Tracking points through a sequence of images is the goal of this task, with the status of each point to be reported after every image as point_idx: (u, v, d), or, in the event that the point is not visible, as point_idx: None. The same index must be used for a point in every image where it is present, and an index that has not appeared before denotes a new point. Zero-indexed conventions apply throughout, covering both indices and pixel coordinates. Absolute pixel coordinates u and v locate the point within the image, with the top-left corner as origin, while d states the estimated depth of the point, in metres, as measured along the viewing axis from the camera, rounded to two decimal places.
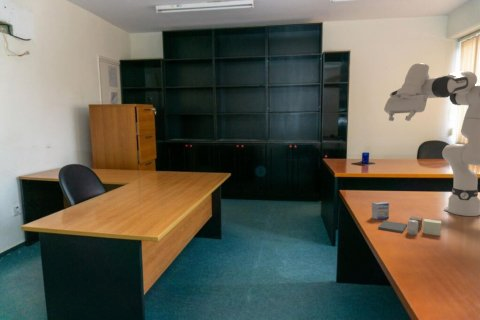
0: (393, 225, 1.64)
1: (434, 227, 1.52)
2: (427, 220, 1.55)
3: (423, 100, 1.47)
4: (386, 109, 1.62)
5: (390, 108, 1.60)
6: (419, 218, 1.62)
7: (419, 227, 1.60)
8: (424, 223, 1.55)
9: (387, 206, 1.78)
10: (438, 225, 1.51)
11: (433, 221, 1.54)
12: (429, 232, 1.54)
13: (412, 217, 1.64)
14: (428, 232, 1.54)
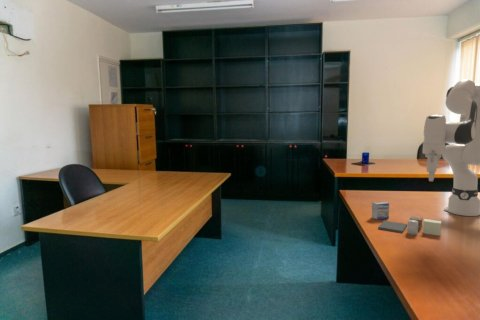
0: (393, 225, 1.64)
1: (434, 227, 1.52)
2: (427, 220, 1.55)
3: (429, 161, 1.43)
4: None
5: None
6: (419, 218, 1.62)
7: (419, 227, 1.60)
8: (424, 223, 1.55)
9: (387, 206, 1.78)
10: (438, 225, 1.51)
11: (433, 221, 1.54)
12: (429, 232, 1.54)
13: (412, 217, 1.64)
14: (428, 232, 1.54)
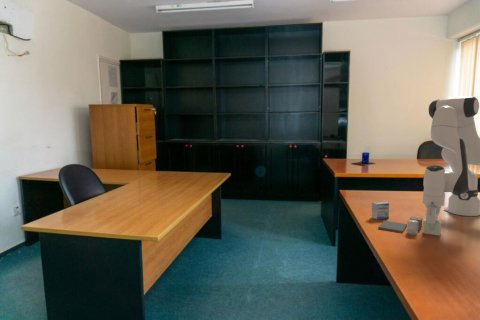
0: (393, 225, 1.64)
1: (434, 227, 1.52)
2: None
3: (428, 214, 1.46)
4: None
5: None
6: (419, 218, 1.62)
7: (419, 227, 1.60)
8: (424, 223, 1.55)
9: (387, 206, 1.78)
10: (438, 225, 1.51)
11: None
12: (429, 232, 1.54)
13: (412, 217, 1.64)
14: (428, 232, 1.54)
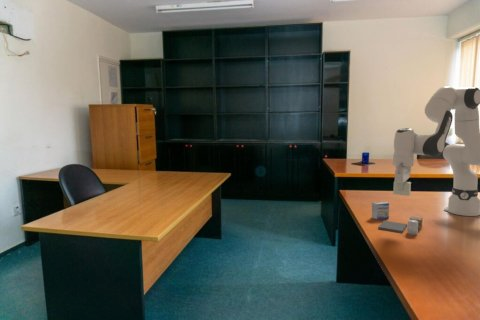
0: (393, 225, 1.64)
1: (403, 187, 1.57)
2: None
3: (397, 173, 1.51)
4: None
5: None
6: (419, 218, 1.62)
7: (419, 227, 1.60)
8: (394, 184, 1.59)
9: (387, 206, 1.78)
10: (407, 185, 1.56)
11: None
12: (399, 193, 1.58)
13: (412, 217, 1.64)
14: (398, 193, 1.59)
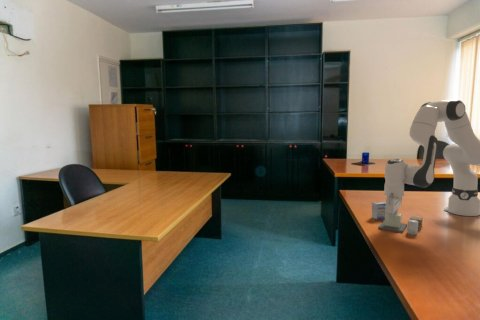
0: None
1: (394, 219, 1.61)
2: None
3: (387, 204, 1.55)
4: None
5: None
6: (419, 218, 1.62)
7: (419, 227, 1.60)
8: (385, 216, 1.64)
9: None
10: (398, 217, 1.60)
11: (394, 214, 1.63)
12: (390, 224, 1.63)
13: (412, 217, 1.64)
14: (389, 224, 1.63)
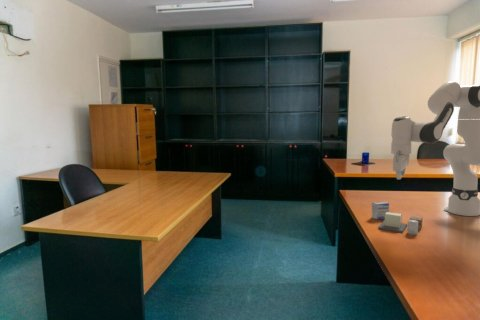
0: None
1: (394, 219, 1.61)
2: (388, 213, 1.65)
3: (395, 161, 1.54)
4: None
5: None
6: (419, 218, 1.62)
7: (419, 227, 1.60)
8: (385, 216, 1.64)
9: (387, 206, 1.78)
10: (398, 217, 1.60)
11: (394, 214, 1.63)
12: (390, 224, 1.63)
13: (412, 217, 1.64)
14: (389, 224, 1.63)
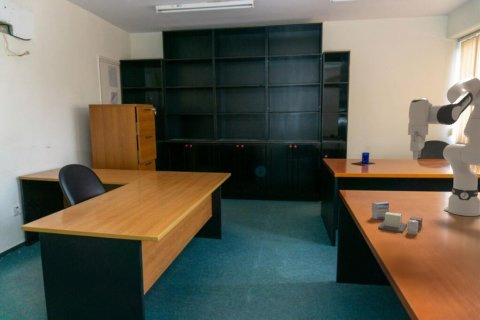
0: None
1: (394, 219, 1.61)
2: (388, 213, 1.65)
3: (412, 141, 1.56)
4: None
5: None
6: (419, 218, 1.62)
7: (419, 227, 1.60)
8: (385, 216, 1.64)
9: (387, 206, 1.78)
10: (398, 217, 1.60)
11: (394, 214, 1.63)
12: (390, 224, 1.63)
13: (412, 217, 1.64)
14: (389, 224, 1.63)
